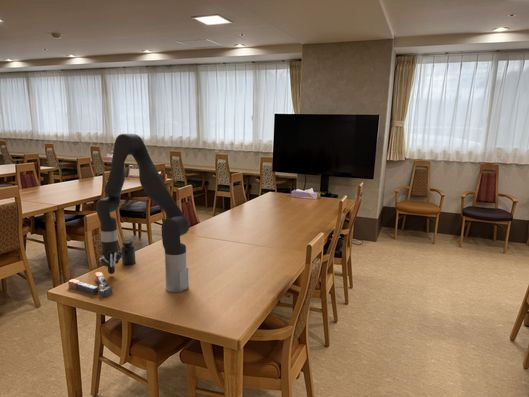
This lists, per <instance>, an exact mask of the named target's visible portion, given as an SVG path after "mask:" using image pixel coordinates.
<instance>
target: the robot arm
mask: <svg viewBox="0 0 529 397" xmlns="http://www.w3.org/2000/svg"><path fill="white" fill-rule="evenodd" d="M113 145H114V146H113V153H112V159H111V166H110V170H109V173H108V174H109V175H108V178H107V180H106V183H105V186H104V193H105V194H106V195H107V196H106V197H103V198H100V199H98V200H97V201H96V203H95V210H96V214H97V218H98V219H99V222H100V248H101V250H102V253H101V256H100V257H99V258H98V259H97V261H98V262H99V263H100V264H102V266H104V267H107V273H108V274H110V275H114V274H115V270H116V268H115V266H116V264H119V261H120V260H121V259H122V256H121V255H122V252H121V250H119V233H118V226H117V225H118V224H117V218H116V217H114V216H111V213H112V212H115V211H116V210H118V209H119V207H120V204H121V192H122V189H123V186H124V183H125V177H126V176H125V175H126V174H125V167H124V166H125V162H126V159H127V157H128V156H129V155H130V156H132V157H133V158H134V160H135V163H136V164H137V167H138V173H139V175H138V176H139V178H138V179H139V182H140V186H141V188H142V189H143V191H144V193H145V194H146V196H147V197H148V198H149V199H150V200H151V201H152V202H153V203H154V204H156V205H157V206H158V207H159V208H161V209H162V210H163V212H164V213H165V214H166V217H167V218H165V219H164V220H163V222H162V223H161V239H162V240H161V241H162V246H163V249H164V265H165V266H164V268H165V270H164V271H165V290H166V291H167V292H169V293H182V292H184V291H186V290H187V289H188V288H189V286H190V285H189V279H190V278H189V268H188V267H187V246H186V244H185V243H183V242H181V236H184V235H186V234H187V233H188V232H189V229H190V223H189V220H188V218H187V217H186V215H185V214H184V212H183V211H182V210H181V208H180V207H179V206H178V204H177V203H176V201H175V200H174V198H173V195H172V194H171V193H170V191H169V189H168V187H167V185H166V184H165V181H164V179H163V178H162V176H161V175H160V173H159V171H158V170H157V167H156V166H155V164H154V162H153V160H152V158H151V156H150V154H149V152H148V150H147V147H146V144H145V143H144V141H143V139H142V138H141V136H139V134H136V133H121V134H119V135H118V136H117V137H116V138H115V141H114V144H113Z"/></svg>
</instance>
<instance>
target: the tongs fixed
mask: <svg viewBox="0 0 529 397" xmlns="http://www.w3.org/2000/svg"><path fill="white" fill-rule="evenodd" d="M67 282H68V288H69V289H71V290H75V291H79V292H83V293H86V294H89V295H92V296H95V295H98V294H99V297H100V298H106V297H108V296H110V295H112V294H113V286H110V285H108V287H106V288H105V284H100V285H99V284H98V286H96V285H93V284H90V283H86V282H83V281H81V280H79V279H75V278H72V279H69V280H68V281H67Z"/></svg>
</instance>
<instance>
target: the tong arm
mask: <svg viewBox="0 0 529 397" xmlns="http://www.w3.org/2000/svg"><path fill="white" fill-rule="evenodd" d="M94 274H95V275H94V276H95V280H96V283H97V284H98V286H99V285H100V284H105V288H106V287H108V286H109V284H108V282H107V281H106V279H105V277H104V274H103V273H102V271H98V272H95V273H94Z"/></svg>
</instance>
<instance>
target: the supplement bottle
mask: <svg viewBox="0 0 529 397" xmlns="http://www.w3.org/2000/svg"><path fill="white" fill-rule="evenodd" d="M135 248H136V247H135V246H134V245H133V241H132V240H131V239H127V240H124V241H122V246H121V248H120V252H122V255H121V264H122V265H123V266H124V265H125V266H131V265H133V264H135V263H136V249H135Z"/></svg>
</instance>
